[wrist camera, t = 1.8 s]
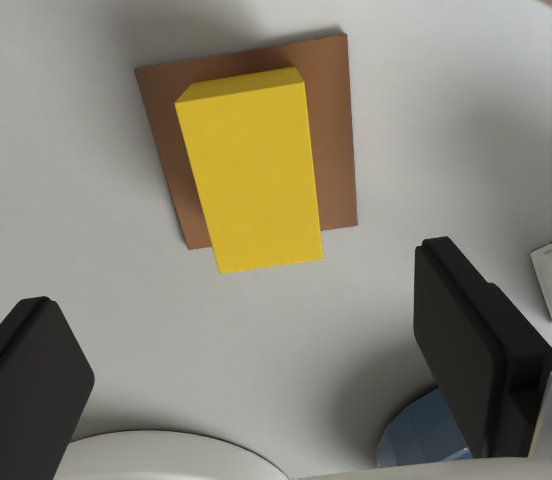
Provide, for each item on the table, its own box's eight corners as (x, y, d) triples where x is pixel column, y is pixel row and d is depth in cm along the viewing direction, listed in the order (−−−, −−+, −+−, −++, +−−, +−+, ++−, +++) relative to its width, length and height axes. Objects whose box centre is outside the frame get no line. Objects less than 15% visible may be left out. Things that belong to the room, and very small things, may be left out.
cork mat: (345, 33, 19) (347, 33, 19) (356, 222, 24) (357, 225, 24) (135, 68, 19) (133, 69, 19) (189, 246, 24) (187, 250, 24)
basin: (607, 349, 30) (673, 415, 25) (560, 482, 38) (603, 550, 33) (370, 379, 30) (391, 448, 26) (376, 503, 39) (392, 572, 34)
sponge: (295, 66, 19) (304, 81, 15) (313, 216, 23) (323, 259, 19) (191, 83, 19) (173, 102, 15) (226, 229, 23) (219, 274, 19)
